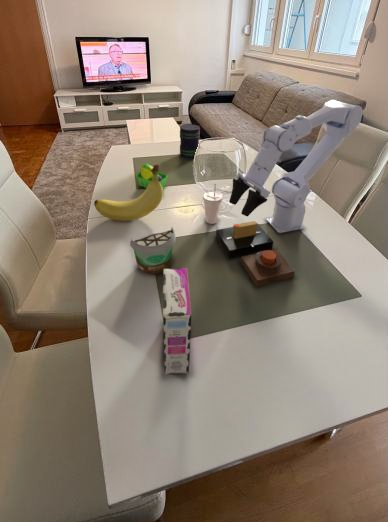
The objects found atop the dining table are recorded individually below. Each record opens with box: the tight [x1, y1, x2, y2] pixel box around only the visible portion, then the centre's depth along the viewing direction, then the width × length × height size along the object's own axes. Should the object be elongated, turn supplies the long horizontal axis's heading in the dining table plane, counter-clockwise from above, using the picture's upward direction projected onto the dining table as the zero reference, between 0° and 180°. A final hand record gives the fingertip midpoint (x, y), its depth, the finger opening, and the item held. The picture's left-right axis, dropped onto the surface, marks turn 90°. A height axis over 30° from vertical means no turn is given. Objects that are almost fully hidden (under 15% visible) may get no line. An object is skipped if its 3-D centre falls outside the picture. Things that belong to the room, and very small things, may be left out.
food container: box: [129, 227, 177, 275], centre depth 78 cm, size 12×6×10 cm, turn 117°
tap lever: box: [232, 220, 258, 239], centre depth 88 cm, size 7×2×4 cm, turn 108°
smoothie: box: [202, 183, 223, 225], centre depth 98 cm, size 6×6×14 cm
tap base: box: [215, 222, 274, 259], centre depth 90 cm, size 14×11×3 cm
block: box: [240, 249, 296, 287], centre depth 80 cm, size 11×9×4 cm
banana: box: [93, 164, 164, 221], centre depth 96 cm, size 23×6×20 cm, turn 92°
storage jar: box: [179, 123, 201, 160], centre depth 148 cm, size 10×10×15 cm
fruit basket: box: [135, 163, 169, 189], centre depth 118 cm, size 11×9×11 cm
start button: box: [261, 250, 276, 264], centre depth 79 cm, size 4×4×2 cm
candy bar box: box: [162, 267, 192, 375], centre depth 57 cm, size 11×5×16 cm, turn 5°
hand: (238, 209), depth 85 cm, fingers open, 7 cm apart
